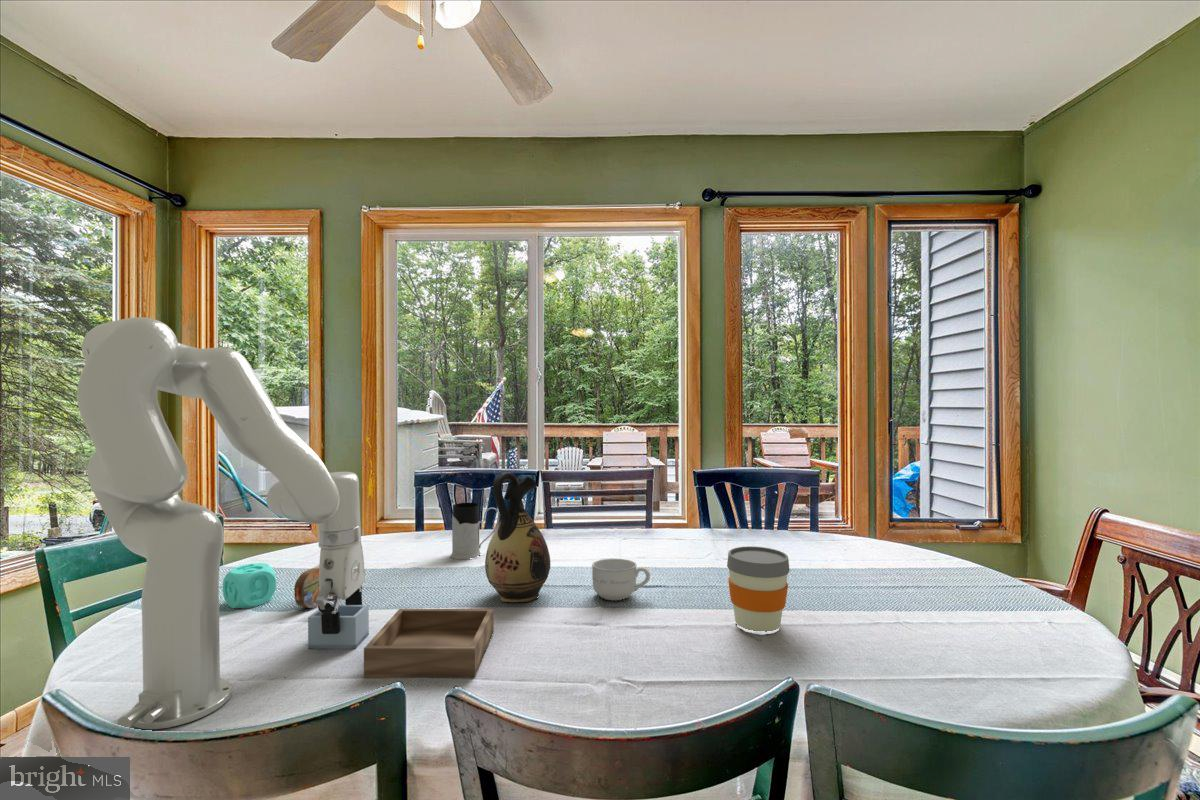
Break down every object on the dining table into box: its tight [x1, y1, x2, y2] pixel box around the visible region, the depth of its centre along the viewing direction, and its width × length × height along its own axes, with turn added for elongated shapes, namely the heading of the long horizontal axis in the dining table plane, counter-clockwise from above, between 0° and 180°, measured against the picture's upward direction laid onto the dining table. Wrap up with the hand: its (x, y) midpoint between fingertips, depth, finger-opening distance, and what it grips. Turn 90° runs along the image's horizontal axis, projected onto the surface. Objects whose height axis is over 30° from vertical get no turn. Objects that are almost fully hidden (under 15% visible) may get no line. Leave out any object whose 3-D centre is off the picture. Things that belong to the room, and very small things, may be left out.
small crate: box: [307, 604, 370, 650], centre depth 108 cm, size 6×9×6 cm, turn 90°
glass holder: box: [450, 502, 500, 560], centre depth 165 cm, size 9×14×15 cm, turn 107°
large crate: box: [363, 608, 495, 678], centre depth 103 cm, size 17×19×5 cm
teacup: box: [591, 558, 651, 601], centre depth 131 cm, size 14×11×8 cm
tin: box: [293, 564, 336, 609], centre depth 129 cm, size 15×3×8 cm, turn 168°
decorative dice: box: [222, 562, 277, 609], centre depth 128 cm, size 8×8×8 cm
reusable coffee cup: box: [726, 546, 791, 632], centre depth 115 cm, size 13×12×15 cm
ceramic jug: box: [484, 471, 551, 603], centre depth 131 cm, size 17×15×30 cm
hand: (343, 621), depth 108 cm, fingers open, 9 cm apart
